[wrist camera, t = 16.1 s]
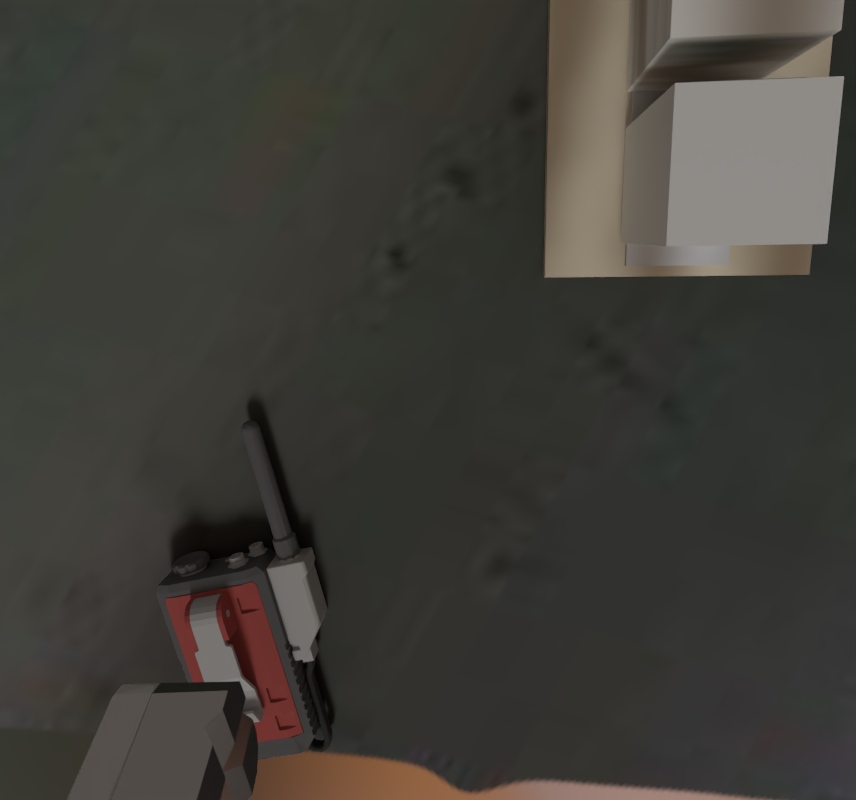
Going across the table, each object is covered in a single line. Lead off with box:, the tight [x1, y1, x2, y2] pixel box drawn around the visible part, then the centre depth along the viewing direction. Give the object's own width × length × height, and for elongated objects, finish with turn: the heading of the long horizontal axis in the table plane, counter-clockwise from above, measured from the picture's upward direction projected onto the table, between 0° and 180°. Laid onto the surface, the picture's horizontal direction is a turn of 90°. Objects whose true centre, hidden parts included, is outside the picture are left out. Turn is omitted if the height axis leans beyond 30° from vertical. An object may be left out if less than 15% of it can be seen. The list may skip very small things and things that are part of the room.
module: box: [621, 76, 844, 246], centre depth 28 cm, size 5×5×10 cm
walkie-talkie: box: [156, 420, 332, 760], centre depth 40 cm, size 9×4×20 cm
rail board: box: [543, 0, 844, 277], centre depth 28 cm, size 12×18×11 cm, turn 1°
